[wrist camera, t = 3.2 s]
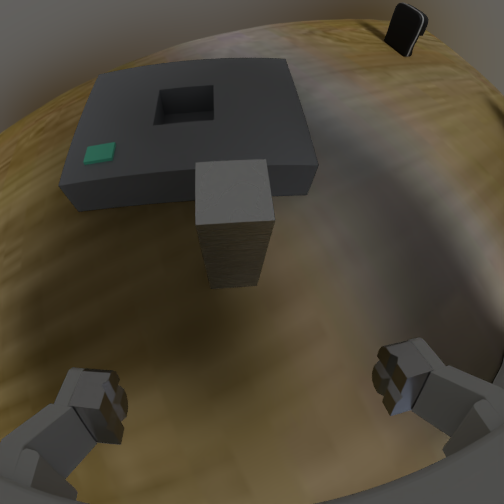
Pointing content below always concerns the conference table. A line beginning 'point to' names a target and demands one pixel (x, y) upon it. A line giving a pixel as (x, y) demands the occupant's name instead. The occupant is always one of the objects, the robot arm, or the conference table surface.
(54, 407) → the robot arm
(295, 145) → the docking mount
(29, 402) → the conference table surface
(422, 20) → the battery charger
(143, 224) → the conference table surface
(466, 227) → the conference table surface
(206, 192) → the peg
